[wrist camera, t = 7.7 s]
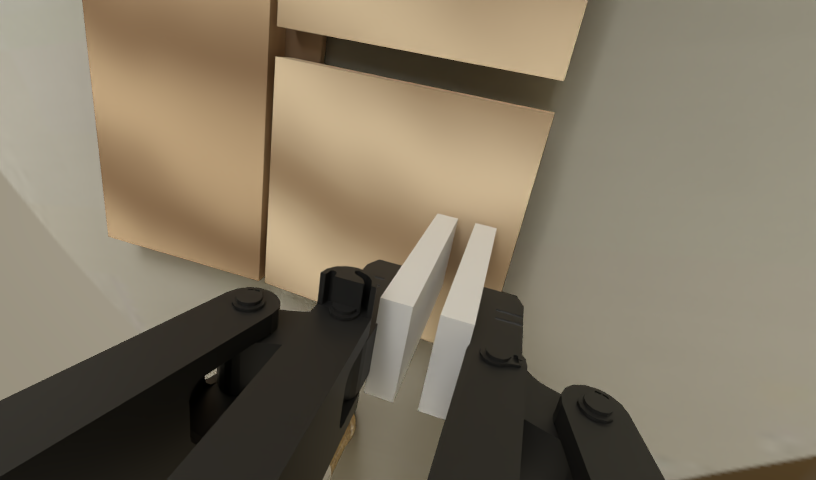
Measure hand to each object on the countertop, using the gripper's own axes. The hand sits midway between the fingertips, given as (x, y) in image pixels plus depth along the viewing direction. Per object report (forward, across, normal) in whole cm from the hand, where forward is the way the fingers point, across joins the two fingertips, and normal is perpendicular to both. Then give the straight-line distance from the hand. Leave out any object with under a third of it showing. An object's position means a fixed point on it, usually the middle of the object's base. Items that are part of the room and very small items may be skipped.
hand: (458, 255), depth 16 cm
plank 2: (+2, -3, +1) cm, 3 cm away
